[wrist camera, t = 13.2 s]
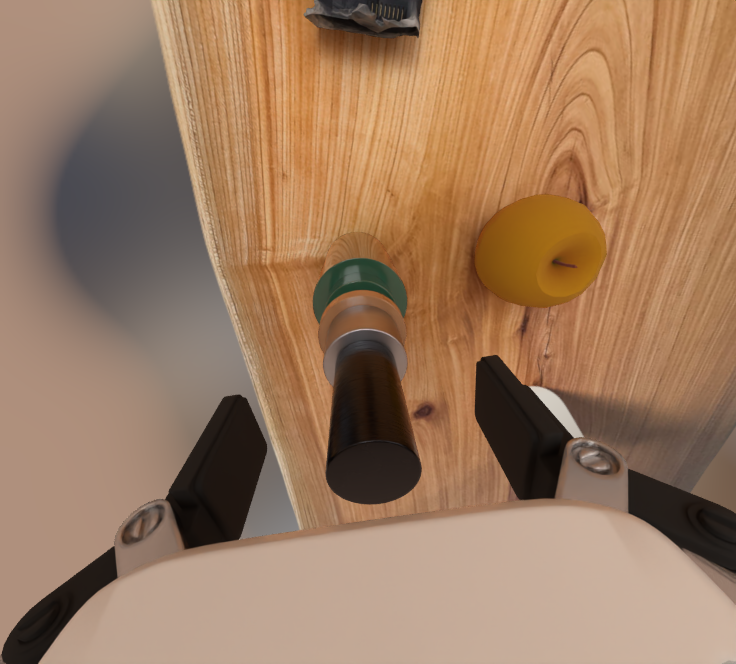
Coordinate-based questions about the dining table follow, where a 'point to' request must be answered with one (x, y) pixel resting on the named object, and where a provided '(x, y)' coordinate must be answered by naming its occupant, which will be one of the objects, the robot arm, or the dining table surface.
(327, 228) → the dining table surface
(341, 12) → the electronic device
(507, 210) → the apple
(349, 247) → the bottle
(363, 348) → the torch
